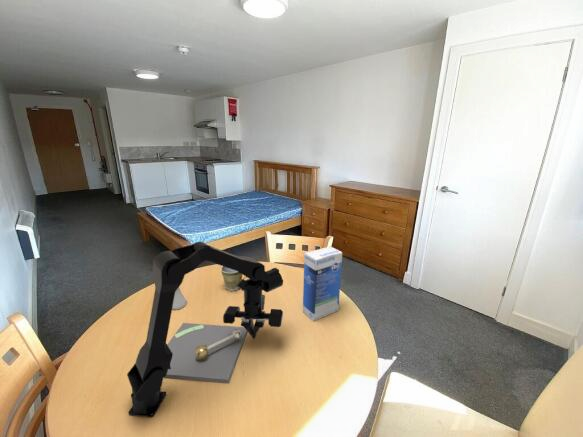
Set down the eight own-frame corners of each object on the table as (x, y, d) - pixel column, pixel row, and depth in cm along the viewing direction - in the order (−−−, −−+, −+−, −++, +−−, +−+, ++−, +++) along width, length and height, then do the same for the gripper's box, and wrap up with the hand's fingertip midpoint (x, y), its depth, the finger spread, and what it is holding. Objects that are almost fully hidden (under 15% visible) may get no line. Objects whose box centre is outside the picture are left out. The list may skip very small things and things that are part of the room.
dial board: (228, 383, 74) (228, 379, 74) (147, 375, 76) (146, 372, 75) (247, 330, 95) (247, 326, 95) (183, 325, 97) (183, 322, 97)
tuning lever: (198, 362, 79) (197, 355, 78) (194, 355, 81) (193, 348, 80) (243, 340, 88) (242, 333, 87) (237, 334, 91) (237, 327, 90)
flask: (180, 311, 105) (177, 289, 102) (164, 309, 106) (161, 287, 104) (190, 301, 112) (188, 280, 109) (175, 299, 113) (172, 278, 110)
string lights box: (327, 302, 113) (330, 245, 106) (339, 311, 107) (343, 252, 100) (301, 311, 106) (303, 252, 99) (313, 322, 100) (316, 259, 93)
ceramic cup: (217, 290, 120) (216, 271, 117) (229, 280, 129) (228, 261, 127) (243, 295, 116) (243, 275, 114) (253, 284, 126) (252, 265, 123)
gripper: (284, 285, 91) (284, 324, 95) (232, 282, 93) (233, 320, 97) (280, 304, 80) (280, 346, 85) (221, 300, 82) (223, 342, 86)
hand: (254, 337), depth 88 cm, fingers closed
